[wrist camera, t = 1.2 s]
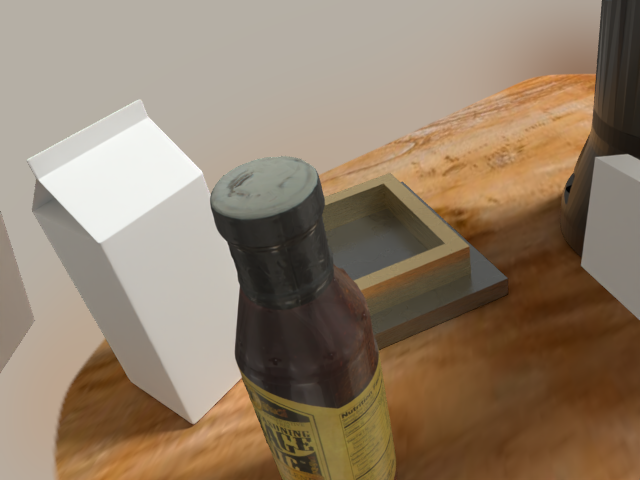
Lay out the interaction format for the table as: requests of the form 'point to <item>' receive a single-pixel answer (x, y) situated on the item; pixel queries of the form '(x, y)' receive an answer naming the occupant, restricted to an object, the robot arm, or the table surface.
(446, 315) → the plate
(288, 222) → the sauce bottle
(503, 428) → the table surface
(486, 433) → the table surface
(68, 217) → the milk carton
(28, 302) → the robot arm
